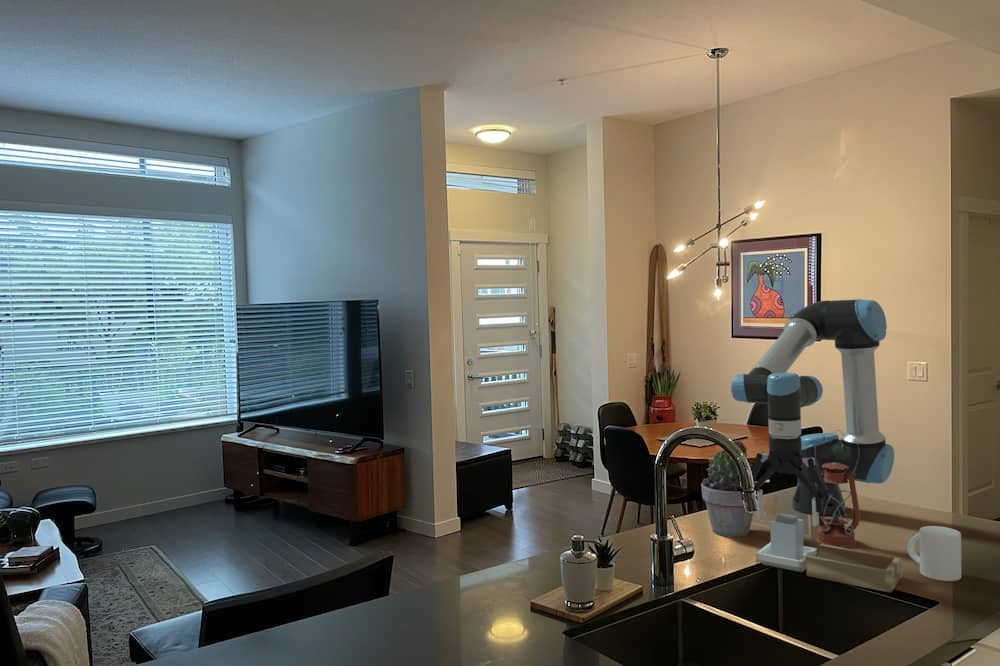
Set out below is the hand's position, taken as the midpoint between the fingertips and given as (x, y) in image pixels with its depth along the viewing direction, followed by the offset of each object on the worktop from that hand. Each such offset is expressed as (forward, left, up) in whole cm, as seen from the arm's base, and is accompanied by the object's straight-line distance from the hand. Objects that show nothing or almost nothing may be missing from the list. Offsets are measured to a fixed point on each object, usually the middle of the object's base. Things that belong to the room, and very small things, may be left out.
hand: (787, 520), depth 183 cm
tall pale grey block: (0, 0, -9) cm, 9 cm away
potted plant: (-13, -20, -10) cm, 26 cm away
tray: (+1, 0, -10) cm, 10 cm away
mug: (-10, +30, -10) cm, 33 cm away
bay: (+3, +16, -10) cm, 19 cm away
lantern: (-21, +6, -10) cm, 24 cm away
